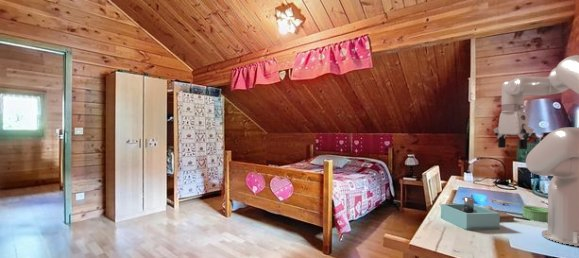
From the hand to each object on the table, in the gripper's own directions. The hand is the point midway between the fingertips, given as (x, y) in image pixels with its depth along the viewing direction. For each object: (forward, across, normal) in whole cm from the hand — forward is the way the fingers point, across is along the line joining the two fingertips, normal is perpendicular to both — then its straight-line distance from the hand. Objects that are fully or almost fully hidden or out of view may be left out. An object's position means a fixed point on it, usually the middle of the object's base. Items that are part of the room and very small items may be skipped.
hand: (511, 148), depth 118 cm
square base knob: (+29, -5, +25) cm, 39 cm away
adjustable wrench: (+31, +15, -22) cm, 41 cm away
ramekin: (+31, -2, -10) cm, 32 cm away
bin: (+30, -5, +25) cm, 40 cm away
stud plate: (+30, +2, +9) cm, 32 cm away
